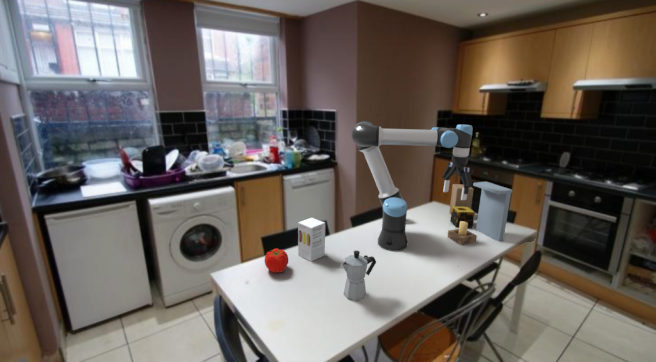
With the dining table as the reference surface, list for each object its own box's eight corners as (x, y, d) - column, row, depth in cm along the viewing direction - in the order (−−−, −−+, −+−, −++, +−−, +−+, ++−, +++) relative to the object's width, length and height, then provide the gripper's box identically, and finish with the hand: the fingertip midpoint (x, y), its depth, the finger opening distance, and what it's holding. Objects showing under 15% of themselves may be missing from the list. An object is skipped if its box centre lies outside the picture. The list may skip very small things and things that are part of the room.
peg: (461, 242, 167) (463, 224, 165) (455, 239, 171) (458, 221, 168) (467, 241, 168) (469, 223, 166) (461, 238, 172) (464, 220, 170)
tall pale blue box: (490, 243, 166) (499, 191, 159) (466, 230, 181) (473, 182, 174) (503, 241, 169) (512, 189, 162) (479, 228, 184) (486, 181, 177)
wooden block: (464, 213, 208) (468, 184, 203) (469, 219, 199) (473, 188, 194) (449, 213, 209) (452, 183, 204) (453, 218, 200) (457, 188, 195)
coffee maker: (345, 304, 116) (346, 260, 111) (335, 291, 123) (336, 249, 119) (380, 295, 122) (382, 252, 117) (368, 283, 129) (370, 242, 125)
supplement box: (297, 254, 152) (297, 222, 147) (311, 248, 158) (311, 216, 154) (311, 262, 145) (311, 227, 141) (325, 255, 152) (325, 222, 148)
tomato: (270, 279, 131) (269, 260, 129) (261, 267, 140) (260, 249, 138) (293, 272, 137) (293, 253, 135) (283, 261, 146) (282, 243, 144)
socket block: (460, 245, 164) (461, 238, 163) (447, 237, 173) (448, 230, 172) (475, 242, 167) (476, 235, 166) (462, 234, 176) (463, 228, 175)
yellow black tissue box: (473, 228, 185) (475, 212, 183) (456, 228, 185) (458, 212, 183) (466, 221, 195) (468, 206, 193) (449, 221, 195) (451, 206, 193)
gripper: (485, 160, 150) (477, 202, 156) (449, 151, 173) (444, 188, 178) (472, 160, 148) (465, 204, 153) (438, 151, 171) (433, 189, 176)
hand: (454, 195), depth 166 cm, fingers open, 13 cm apart
